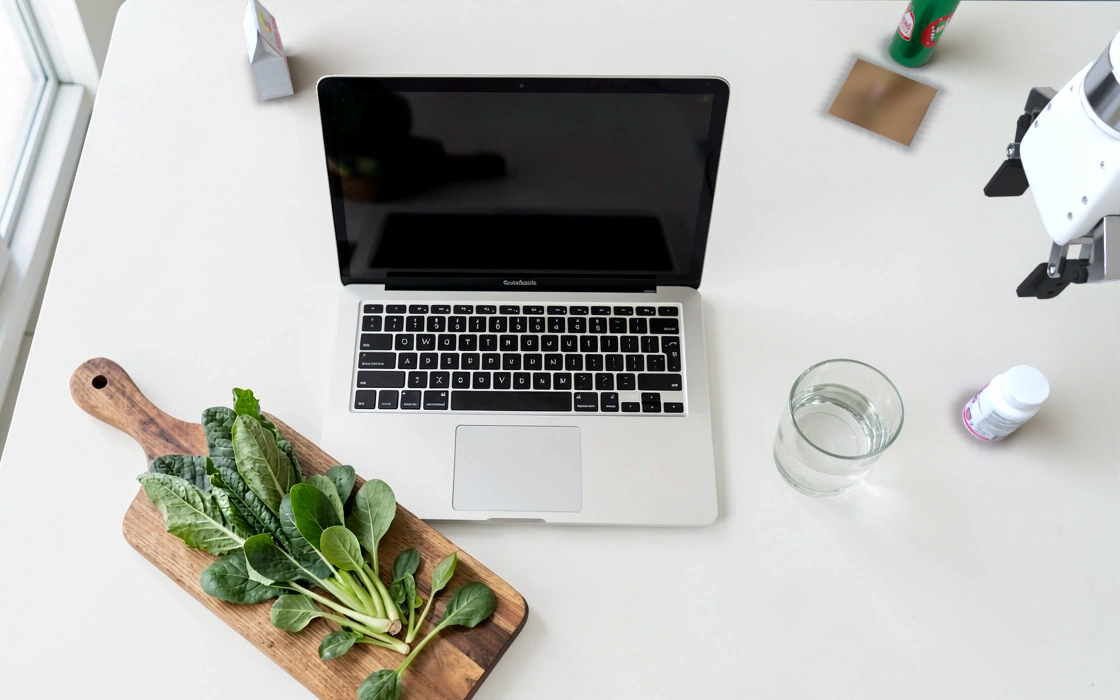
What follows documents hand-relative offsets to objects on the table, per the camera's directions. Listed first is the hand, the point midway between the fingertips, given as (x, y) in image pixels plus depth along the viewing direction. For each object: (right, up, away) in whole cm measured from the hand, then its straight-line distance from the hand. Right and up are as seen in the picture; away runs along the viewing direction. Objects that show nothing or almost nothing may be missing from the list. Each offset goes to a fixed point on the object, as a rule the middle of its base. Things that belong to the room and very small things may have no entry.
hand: (1017, 242), depth 73 cm
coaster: (+3, +22, +34) cm, 41 cm away
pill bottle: (+6, -15, +17) cm, 23 cm away
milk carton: (-70, +25, +36) cm, 83 cm away
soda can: (+8, +29, +38) cm, 48 cm away
